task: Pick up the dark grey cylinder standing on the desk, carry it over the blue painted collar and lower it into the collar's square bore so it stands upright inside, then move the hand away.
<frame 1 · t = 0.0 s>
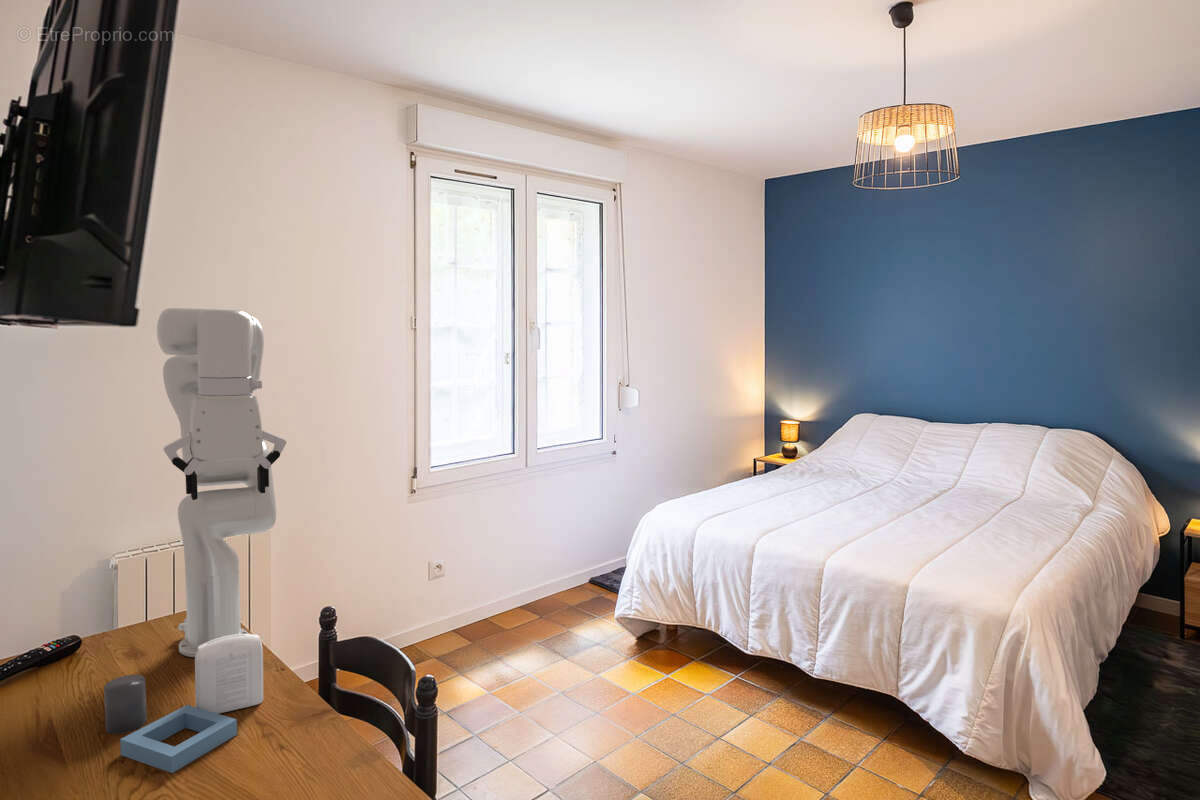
hand: (228, 494, 115), 37 cm above the table, tool pointing down, fingers open, 9 cm apart
collar: (180, 744, 111), on the table
photo printer: (230, 708, 122), on the table
dark grey cylinder: (126, 724, 116), on the table
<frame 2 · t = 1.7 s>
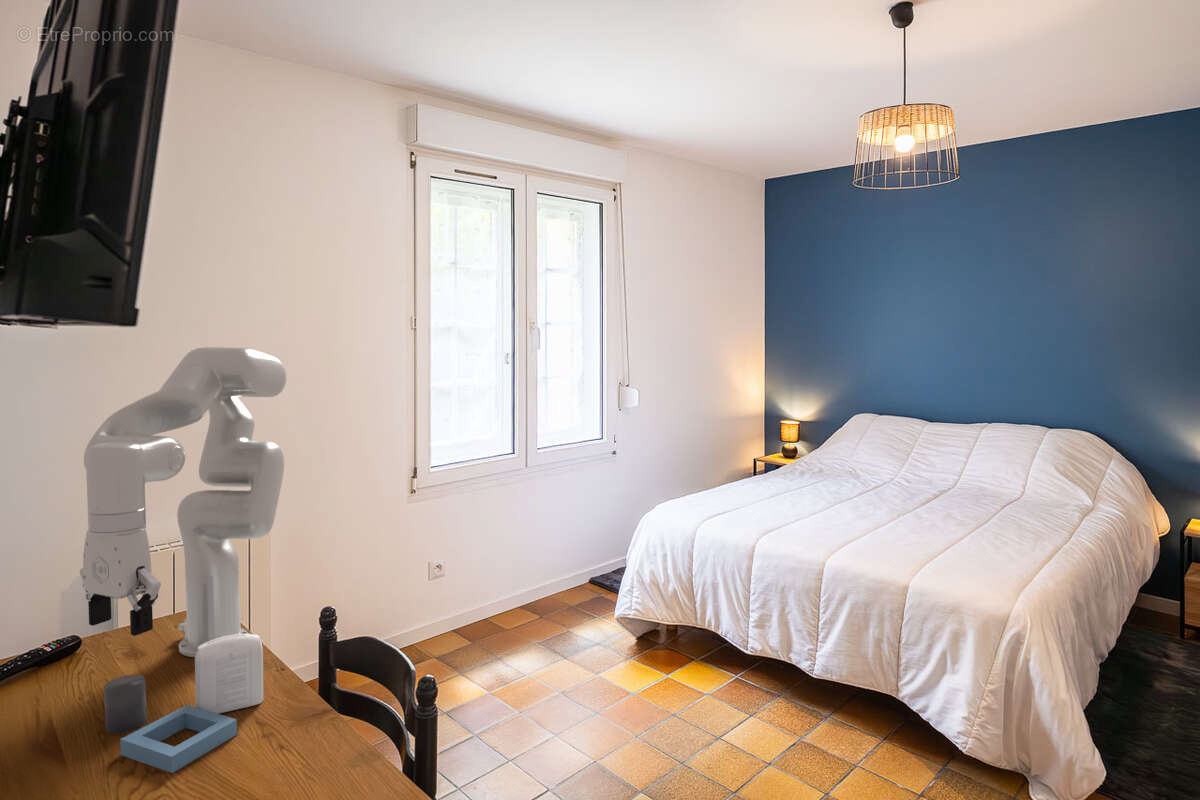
hand: (120, 627, 114), 16 cm above the table, tool pointing down, fingers open, 9 cm apart
nothing on the table moved.
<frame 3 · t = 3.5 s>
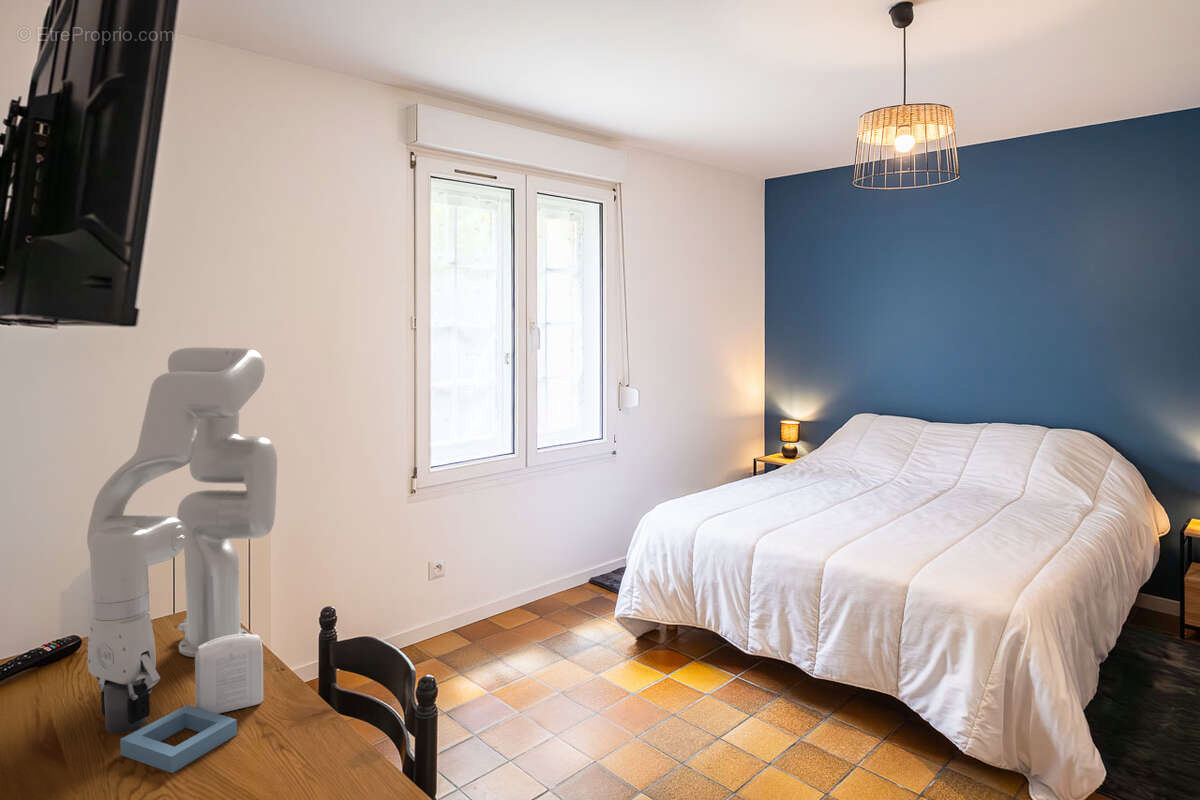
hand: (126, 714, 116), 2 cm above the table, tool pointing down, fingers closed on dark grey cylinder, 5 cm apart
dark grey cylinder: (126, 724, 116), on the table, touching gripper
everything else where it was.
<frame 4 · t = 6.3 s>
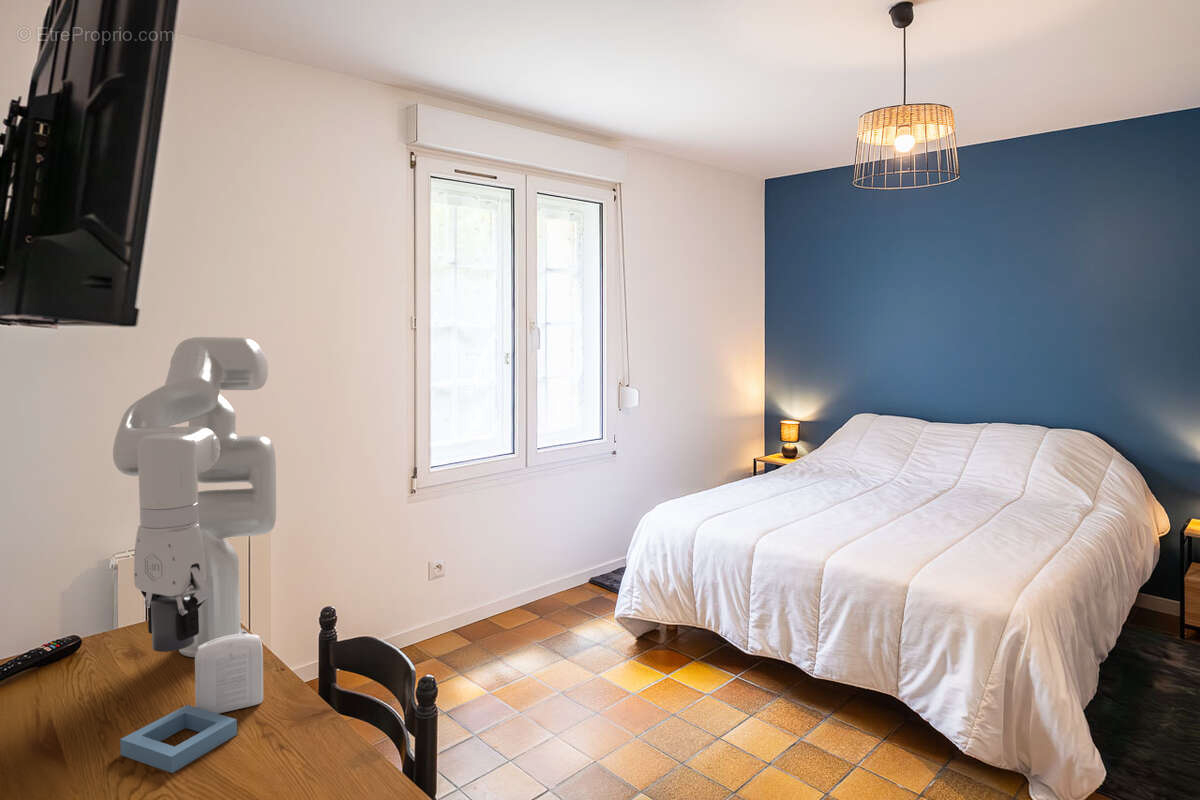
hand: (173, 632, 109), 18 cm above the table, tool pointing down, fingers closed on dark grey cylinder, 5 cm apart
dark grey cylinder: (173, 643, 109), point 16 cm above the table, touching gripper
everything else where it was.
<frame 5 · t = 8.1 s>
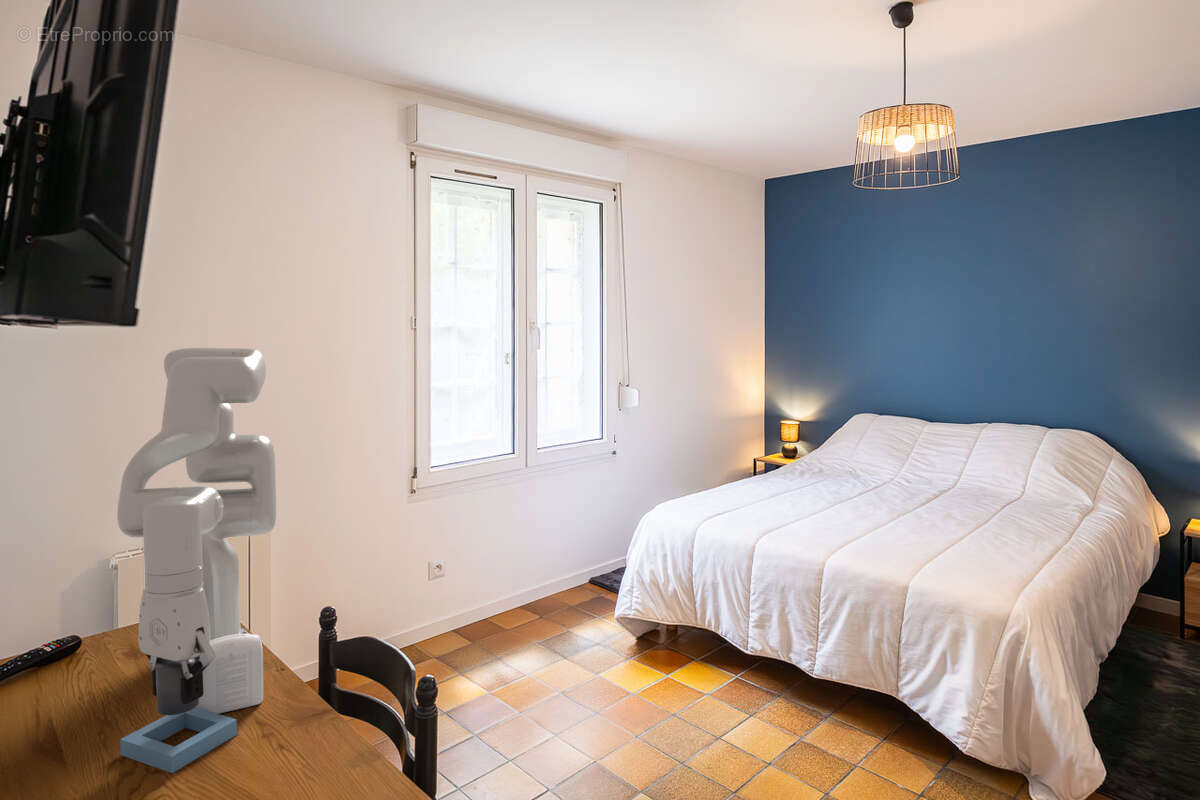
hand: (178, 694, 110), 8 cm above the table, tool pointing down, fingers closed on dark grey cylinder, 5 cm apart
dark grey cylinder: (178, 706, 110), point 6 cm above the table, touching gripper
everything else where it was.
when the fingers open (4 cm above the table, at t = 9.4 s): dark grey cylinder drops 2 cm, resting in collar.
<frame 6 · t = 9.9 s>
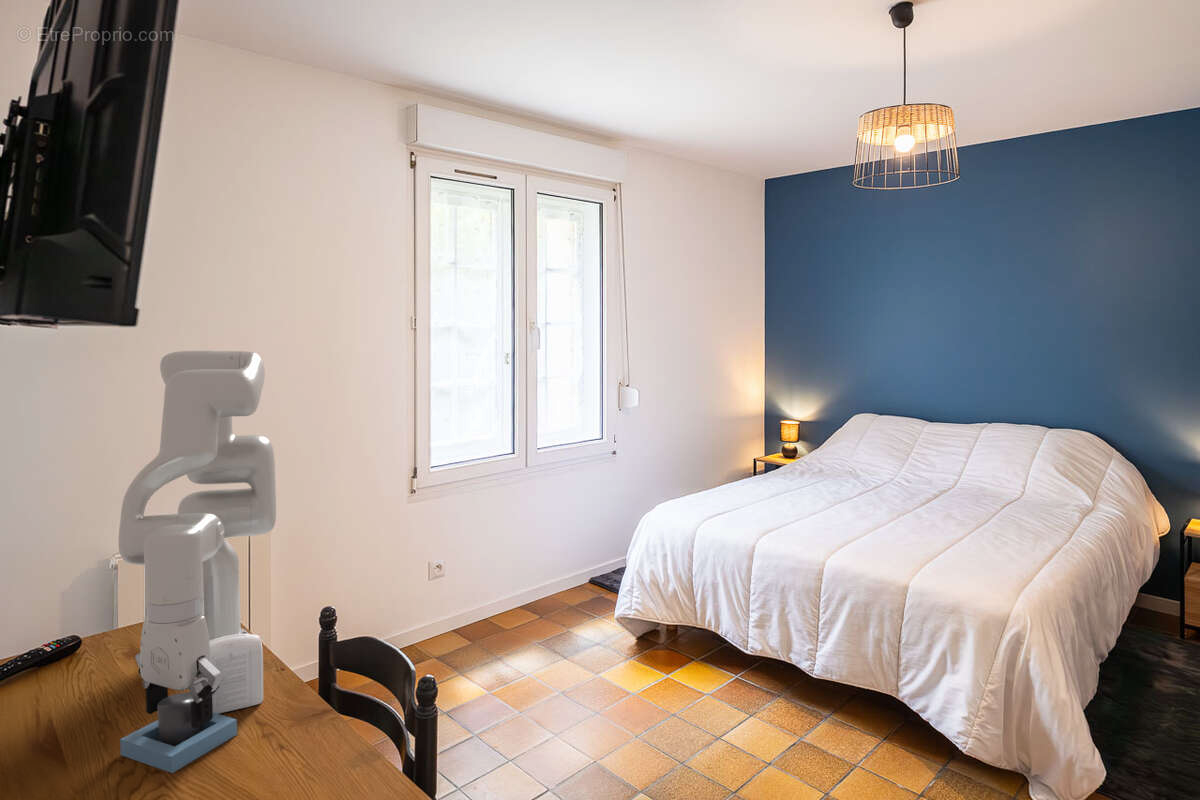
hand: (179, 716, 110), 5 cm above the table, tool pointing down, fingers open, 9 cm apart
dark grey cylinder: (180, 744, 111), resting in collar
everything else where it was.
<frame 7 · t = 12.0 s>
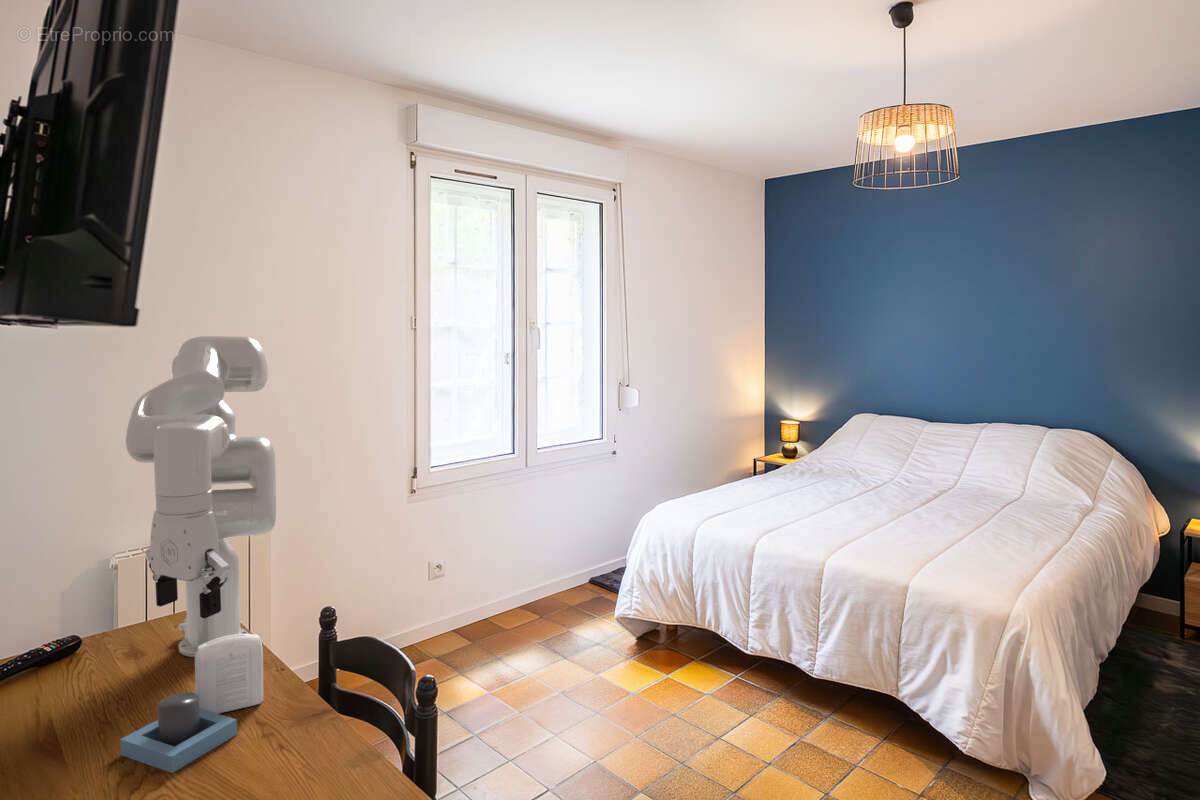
hand: (188, 609, 113), 20 cm above the table, tool pointing down, fingers open, 9 cm apart
nothing on the table moved.
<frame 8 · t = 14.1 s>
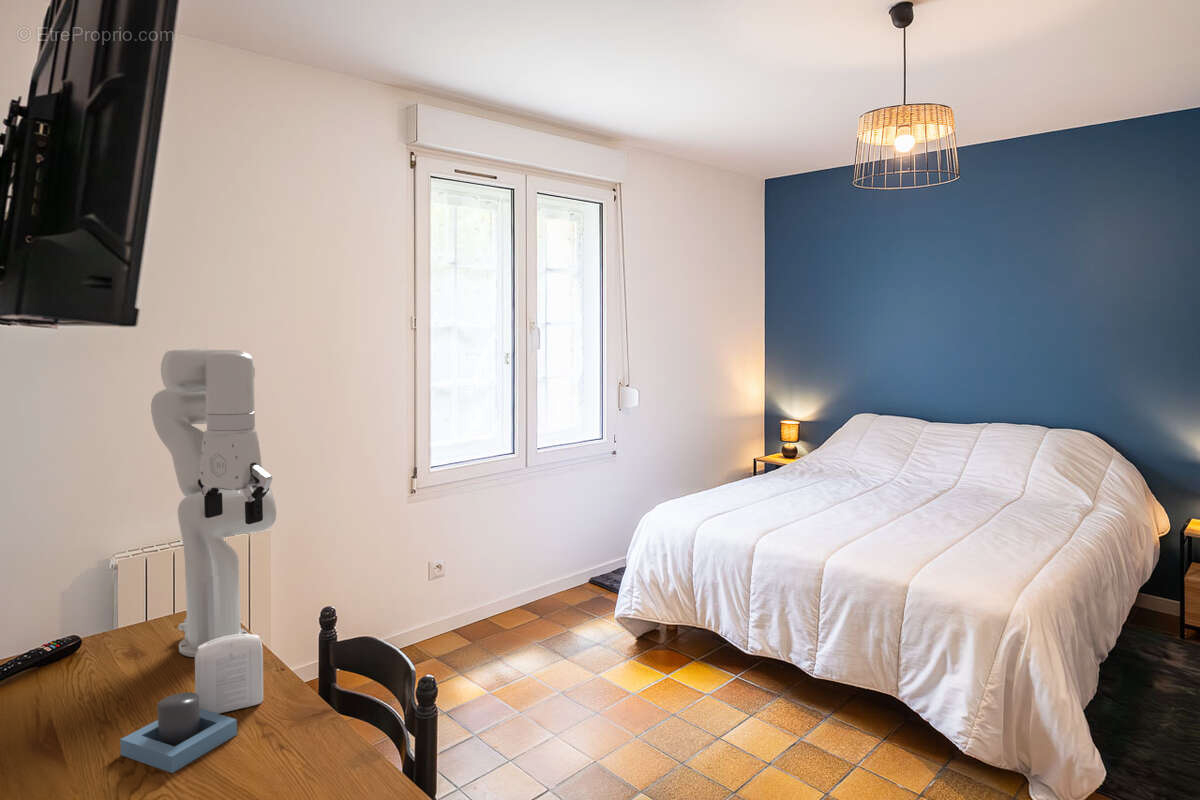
hand: (233, 519, 127), 30 cm above the table, tool pointing down, fingers open, 9 cm apart
nothing on the table moved.
at the end: dark grey cylinder 0.1 cm off-centre on the collar, point 0.0 cm above the collar's base; dark grey cylinder tilted 0°; the gripper is holding nothing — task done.
